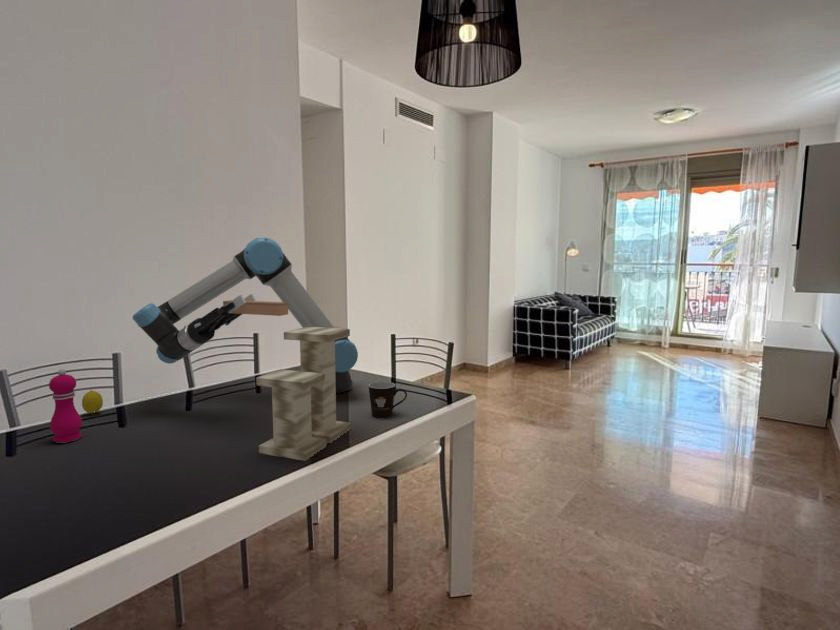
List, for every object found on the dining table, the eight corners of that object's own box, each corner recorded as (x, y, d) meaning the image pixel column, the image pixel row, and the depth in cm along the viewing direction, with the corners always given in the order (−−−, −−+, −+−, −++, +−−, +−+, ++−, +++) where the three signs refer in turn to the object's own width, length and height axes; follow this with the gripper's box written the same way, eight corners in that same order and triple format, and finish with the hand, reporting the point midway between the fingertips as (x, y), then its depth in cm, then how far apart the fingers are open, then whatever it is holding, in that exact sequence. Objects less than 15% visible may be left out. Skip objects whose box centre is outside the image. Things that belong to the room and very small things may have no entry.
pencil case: (288, 314, 140) (288, 302, 140) (279, 315, 137) (279, 303, 136) (233, 311, 147) (232, 300, 147) (223, 312, 143) (223, 301, 143)
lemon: (81, 418, 152) (79, 393, 151) (84, 413, 157) (82, 389, 156) (102, 415, 154) (100, 391, 153) (104, 410, 159) (102, 387, 158)
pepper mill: (58, 447, 129) (51, 373, 126) (46, 441, 132) (40, 370, 130) (88, 438, 135) (82, 368, 132) (76, 433, 138) (70, 365, 136)
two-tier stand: (351, 429, 143) (349, 328, 139) (305, 460, 120) (302, 342, 117) (310, 423, 147) (307, 326, 144) (259, 453, 125) (254, 338, 121)
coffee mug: (363, 417, 154) (363, 386, 152) (378, 409, 161) (377, 380, 160) (394, 422, 148) (394, 391, 147) (408, 415, 156) (408, 384, 155)
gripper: (169, 326, 143) (222, 288, 134) (212, 319, 159) (261, 285, 150) (180, 349, 142) (233, 312, 134) (222, 340, 158) (272, 306, 150)
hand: (248, 298), depth 142 cm, fingers closed on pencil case, 4 cm apart
